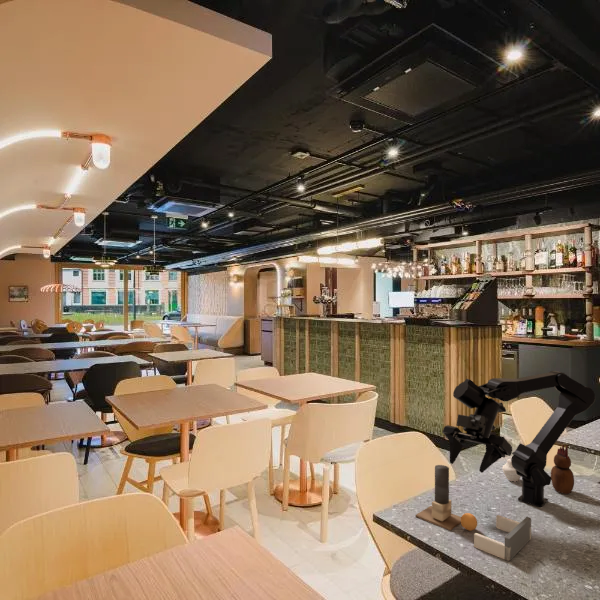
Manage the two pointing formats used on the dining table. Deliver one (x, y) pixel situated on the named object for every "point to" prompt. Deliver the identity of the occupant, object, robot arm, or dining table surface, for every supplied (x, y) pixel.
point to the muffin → (510, 471)
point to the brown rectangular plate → (447, 523)
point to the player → (441, 494)
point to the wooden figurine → (562, 472)
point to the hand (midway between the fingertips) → (465, 467)
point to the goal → (506, 538)
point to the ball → (469, 521)
